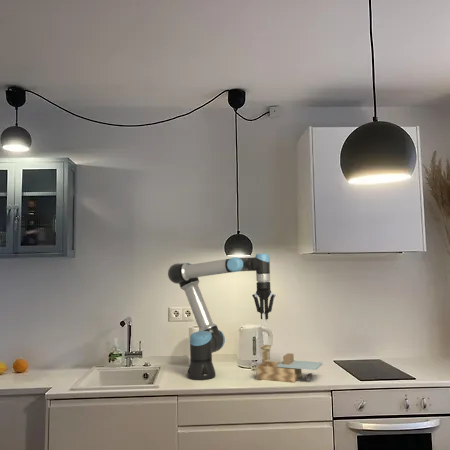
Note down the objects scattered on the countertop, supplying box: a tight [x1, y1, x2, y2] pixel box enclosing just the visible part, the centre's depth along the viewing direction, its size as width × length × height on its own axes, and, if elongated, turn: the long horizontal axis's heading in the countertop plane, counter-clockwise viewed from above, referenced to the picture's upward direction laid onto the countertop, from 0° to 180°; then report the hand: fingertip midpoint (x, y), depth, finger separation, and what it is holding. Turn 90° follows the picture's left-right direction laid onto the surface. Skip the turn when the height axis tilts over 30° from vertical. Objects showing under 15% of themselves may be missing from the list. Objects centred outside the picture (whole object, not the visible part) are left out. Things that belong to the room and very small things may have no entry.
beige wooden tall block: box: [260, 344, 272, 363], centre depth 252 cm, size 4×4×14 cm
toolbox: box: [256, 360, 313, 384], centre depth 231 cm, size 26×13×7 cm, turn 64°
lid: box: [277, 353, 323, 371], centre depth 228 cm, size 20×13×5 cm, turn 64°
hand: (264, 325), depth 242 cm, fingers closed
